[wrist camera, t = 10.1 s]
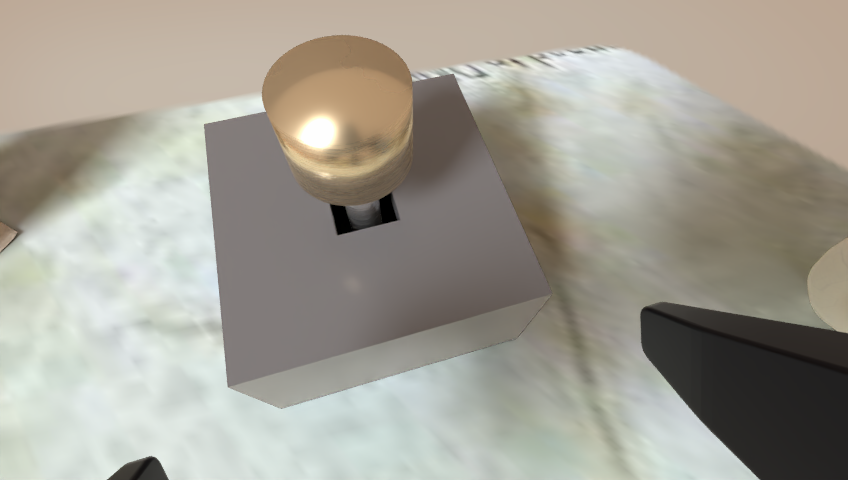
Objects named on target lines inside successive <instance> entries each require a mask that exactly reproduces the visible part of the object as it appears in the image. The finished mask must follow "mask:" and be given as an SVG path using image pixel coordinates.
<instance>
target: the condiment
mask: <svg viewBox="0 0 848 480" xmlns="http://www.w3.org/2000/svg"><path fill="white" fill-rule="evenodd" d="M17 233H18V232H17V231H15V230H13V229H12V228H10V227H8V226H7V225H5V224H4V223H2V222H1V221H0V252H1V251H2V249H4V248H5V247H6V246H7V245H8V244H9V243H10V242H11V241H12V240H13V238H14V237H15V235H16V234H17Z"/></svg>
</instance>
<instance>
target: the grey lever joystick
mask: <svg viewBox="0 0 848 480" xmlns="http://www.w3.org/2000/svg"><path fill="white" fill-rule="evenodd" d="M412 92H413V160H412V165H411V168H410V170H409V172H408V174H407V176H406V178H405V179H404V180H403V182H402V183H401V184H400V185H399V186H398V187H397V188H396V189H395V190H393V191H392V192H391V193H389V195H390V198H391V201H392V204H393V208H394V211H395V214H396V217H397V220H398V221H394V222H390V223H386V224H382V225H378V226H374V227H370V228H366V229H362V230H358V231H354V232H350V233H346V234H342V235H338V232H337V228H336V223H335V219H334V215H333V211H332V206H331V204H330V203H326V202H323V201H321V200H318V199H316V198H314V197H313V196H311V195H309V194H308V193H307V192H306V191H304V190H303V189H302V188H301V186H300V185H299V184H298V183H297V181H296V180H295V178H294V176H293V173H292V171H291V169H290V166H289V164H288V162H287V159H286V157H285V155H284V152H283V150H282V148H281V145H280V143H279V141H278V138H277V136H276V134H275V131H274V129H273V127H272V124H271V122H270V120H269V117H268V115H267V112H262V113H257V114H252V115H247V116H243V117H238V118H233V119H228V120H223V121H218V122H213V123H208V124H204V129H205V140H206V151H207V162H208V174H209V185H210V196H211V207H212V218H213V229H214V240H215V251H216V262H217V273H218V284H219V295H220V306H221V318H222V329H223V340H224V351H225V362H226V373H227V384H228V388H231V389H233V390H236V391H238V392H241V393H243V394H246V395H248V396H251V397H253V398H256V399H258V400H261V401H263V402H266V403H268V404H271V405H273V406H276V407H278V408H281V409H282V408H286V407H289V406H292V405H296V404H299V403H303V402H306V401H309V400H313V399H316V398H319V397H323V396H326V395H329V394H333V393H336V392H339V391H343V390H346V389H349V388H353V387H356V386H359V385H363V384H366V383H369V382H373V381H376V380H379V379H383V378H386V377H389V376H393V375H396V374H399V373H403V372H406V371H409V370H413V369H416V368H419V367H423V366H426V365H429V364H433V363H436V362H439V361H443V360H446V359H449V358H453V357H456V356H459V355H463V354H466V353H469V352H473V351H476V350H479V349H483V348H486V347H489V346H493V345H496V344H499V343H503V342H506V341H509V340H513V339H516V338H518V336H519V335H520V334H521V333H522V331H523V330H524V329H525V328H526V326H527V325H528V324H529V323H530V321H531V320H532V319H533V318H534V316H535V315H536V314H537V313H538V311H539V310H540V309H541V308H542V306H543V305H544V304H545V303H546V302H547V300H548V299H549V298H550V297H551V295H552V294H553V293H552V291H551V289H550V287H549V284H548V282H547V280H546V278H545V276H544V273H543V271H542V269H541V267H540V264H539V262H538V260H537V258H536V256H535V253H534V251H533V249H532V247H531V245H530V242H529V240H528V238H527V236H526V234H525V231H524V229H523V227H522V225H521V222H520V220H519V218H518V216H517V214H516V211H515V209H514V207H513V205H512V203H511V200H510V198H509V196H508V194H507V191H506V189H505V187H504V185H503V183H502V180H501V178H500V176H499V174H498V172H497V169H496V167H495V165H494V163H493V161H492V158H491V156H490V154H489V152H488V149H487V147H486V145H485V143H484V141H483V138H482V136H481V134H480V132H479V130H478V127H477V125H476V123H475V121H474V119H473V116H472V114H471V112H470V110H469V107H468V105H467V103H466V101H465V99H464V96H463V94H462V92H461V90H460V88H459V85H458V83H457V81H456V79H455V77H454V74H450V75H445V76H440V77H435V78H430V79H425V80H420V81H416V82H412Z"/></svg>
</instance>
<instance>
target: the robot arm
mask: <svg viewBox="0 0 848 480" xmlns="http://www.w3.org/2000/svg"><path fill="white" fill-rule="evenodd" d="M640 319H641V343H642V348H643V351H644V353H645V355H646V356H647V358H648V359H649V360H650V361H651V362H652V364H653V365H654V366H655V367H656V368H657V370H658V371H659V372H660V373H661V374H662V376H663V377H664V378H665V379H666V380H667V382H668V383H669V384H670V385H671V386H672V387H673V389H674V390H675V391H676V392H677V393H678V395H679V396H680V397H681V398H682V399H683V401H684V402H685V403H686V404H687V405H688V407H689V408H690V409H691V410H692V411H693V412H694V413H695V415H696V416H697V417H698V418H699V419H700V420H701V421H702V422H703V423H704V424H705V425H706V426H707V428H708V429H709V430H710V431H711V432H712V433H713V434H714V435H715V436H716V437H717V438H718V439H719V440H720V441H721V442H722V443H723V444H724V445H725V446H726V447H727V448H728V449H729V450H730V451H731V452H732V453H733V454H734V455H735V456H737V457H738V458H739V459H740V460H741V461H742V462H743V463H744V464H745V465H746V466H747V467H748V468H749V469H750V470H751V471H752V472H753V473H754V474H755V475H756V476H757V477H758V478H759V479H760V480H848V333H844V332H839V331H833V330H827V329H821V328H815V327H809V326H803V325H797V324H791V323H785V322H779V321H774V320H768V319H762V318H756V317H750V316H744V315H738V314H732V313H726V312H720V311H714V310H709V309H703V308H697V307H691V306H685V305H679V304H673V303H667V302H659V303H656V304H653V305H650V306H646V307H644V308H643V309H642V311H641V314H640ZM107 480H169V479H168V477H167V475H166V473H165V471H164V469H163V467H162V465H161V463H160V462H159V460H158V459H157V458H156V457H152V456H149V457H146V458H143V459H139V460H136V461H133V462H129V463H127V464H125V465H124V466H123V467H121V468H120V469H119V470H118V471H117V472H116V473H114V474H113V475H112V476H111V477H110V478H109V479H107Z"/></svg>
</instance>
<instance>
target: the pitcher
mask: <svg viewBox="0 0 848 480" xmlns="http://www.w3.org/2000/svg"><path fill="white" fill-rule="evenodd" d="M807 288H808V296H809V301H810V304H811V306H812V308H813V310H814V312H815V313H816V314H817V315H818V316H819V317H820V319H822V320H823V321H824V322H826V323H827V324H828V325H829V326H831V327H832V328H833V329H835V330H836V331H839V332H844V333H848V237H847V238H845V239H844V240H842V241H841V242H839V243H838V244H836V245H835V246H833V247H832V248H830V249H829V250H828V251H827V252H826V253H825V254H824V255H823V256H822V257H821V258H820V259H819V260H818V261H817V262H816V263H815V264H814V265H813V266H812V268H811V270H810V273H809V275H808V278H807Z"/></svg>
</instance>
